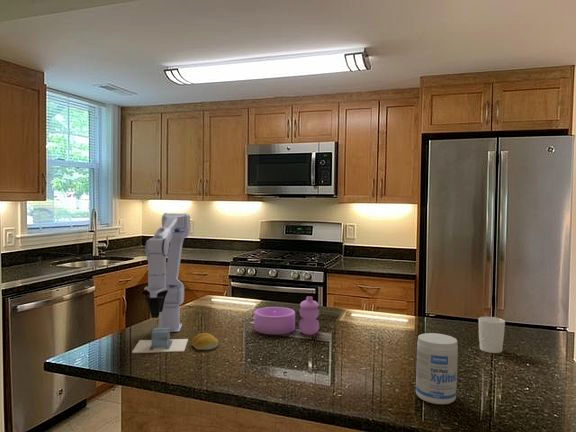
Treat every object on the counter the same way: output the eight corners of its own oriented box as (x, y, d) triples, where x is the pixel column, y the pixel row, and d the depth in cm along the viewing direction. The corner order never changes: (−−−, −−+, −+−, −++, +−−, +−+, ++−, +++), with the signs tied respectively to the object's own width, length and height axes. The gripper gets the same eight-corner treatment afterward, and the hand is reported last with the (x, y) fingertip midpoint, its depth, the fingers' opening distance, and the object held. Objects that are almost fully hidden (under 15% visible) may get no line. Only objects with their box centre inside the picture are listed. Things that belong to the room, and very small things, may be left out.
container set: (247, 331, 164) (247, 296, 163) (264, 321, 178) (264, 288, 177) (312, 340, 154) (312, 302, 154) (324, 328, 169) (325, 293, 168)
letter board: (139, 341, 151) (139, 340, 151) (188, 339, 153) (188, 338, 153) (131, 353, 139) (131, 352, 139) (184, 351, 141) (184, 350, 141)
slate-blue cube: (154, 343, 148) (154, 328, 148) (169, 342, 149) (169, 327, 148) (151, 347, 143) (151, 332, 143) (167, 347, 144) (167, 332, 144)
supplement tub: (434, 408, 104) (435, 346, 103) (407, 392, 112) (408, 334, 112) (465, 401, 108) (466, 341, 107) (437, 386, 116) (438, 330, 116)
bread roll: (198, 352, 141) (198, 340, 141) (189, 344, 149) (189, 332, 149) (222, 348, 145) (222, 336, 145) (212, 340, 153) (212, 329, 153)
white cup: (483, 344, 152) (484, 315, 151) (507, 350, 146) (508, 319, 146) (473, 349, 146) (474, 319, 146) (498, 355, 140) (499, 324, 140)
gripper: (148, 270, 156) (148, 309, 156) (140, 278, 141) (140, 320, 142) (169, 270, 156) (169, 309, 157) (163, 277, 142) (163, 320, 142)
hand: (157, 314), depth 149 cm, fingers open, 7 cm apart
